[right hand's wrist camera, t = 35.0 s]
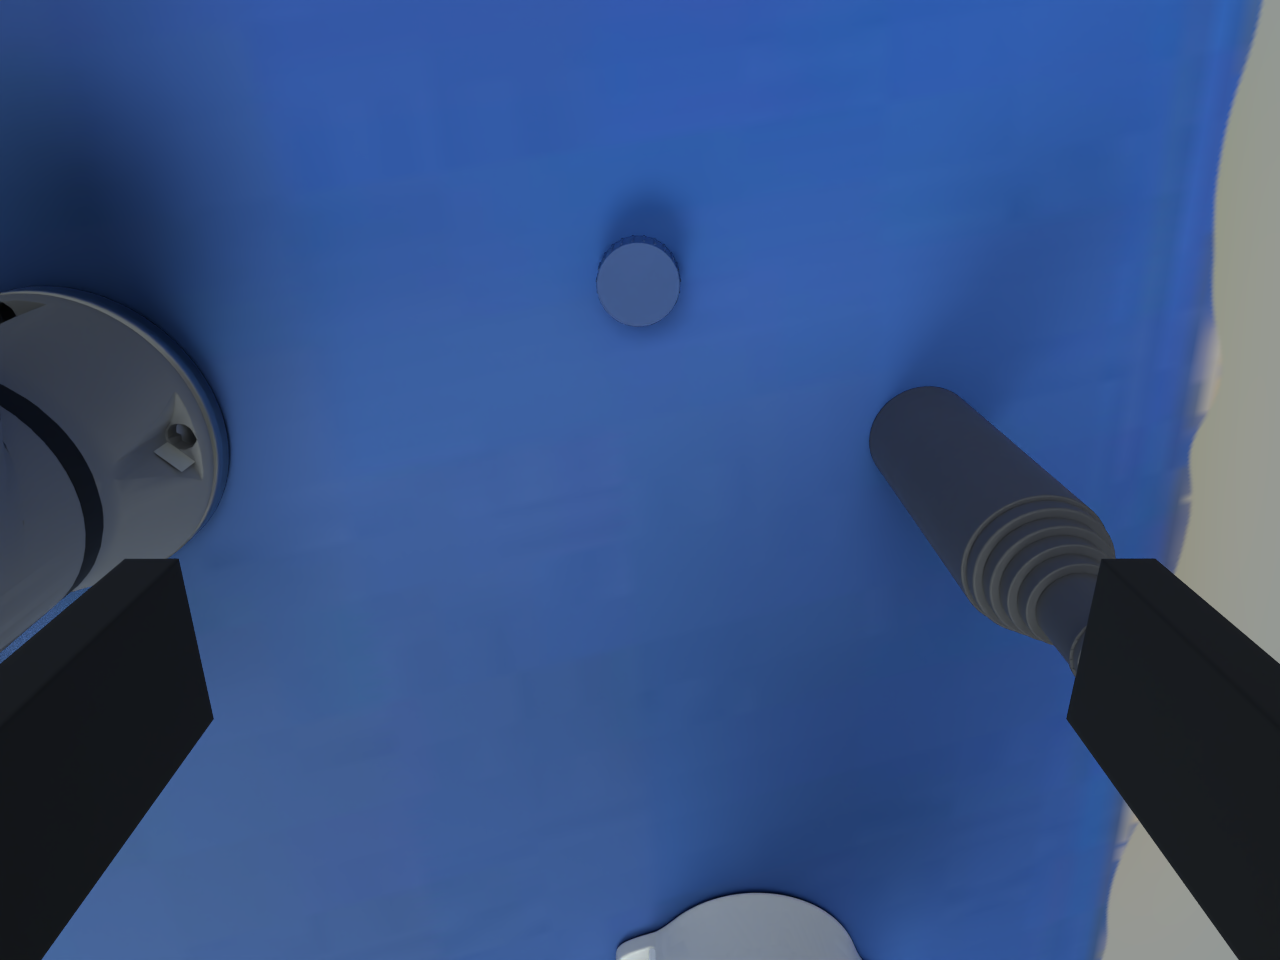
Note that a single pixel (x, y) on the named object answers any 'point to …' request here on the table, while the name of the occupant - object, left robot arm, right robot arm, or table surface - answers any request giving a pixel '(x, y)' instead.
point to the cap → (638, 281)
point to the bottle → (993, 516)
